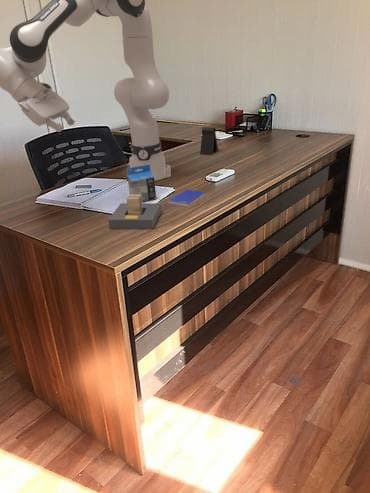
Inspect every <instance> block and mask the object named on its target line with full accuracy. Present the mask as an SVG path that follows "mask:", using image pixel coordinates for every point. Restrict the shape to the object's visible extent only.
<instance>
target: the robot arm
mask: <svg viewBox="0 0 370 493" xmlns="http://www.w3.org/2000/svg"><path fill="white" fill-rule="evenodd" d="M95 13H96V14H97V15H99V16H102V17H106V18H108V17H118V18H119V20H120V22H121V31H122V32H121V33H122V47H123V60H124V63H125V64H126V65H127V66H128V68H130V70H131V72H132V75H133V77H127V78H123V79H120V80H118V81H117V82H116V83H115V84H114V89H113V94H114V98H115V100H116V101H117V102H118V104H119V105H120V106H121V107H122V109H123V111H124V114H125V117H126V118H127V122H128V124H129V130H130V138H131V146H130V147H131V153H132V155H131V156H130V157H129V159H128V160H129V168H132V167H137V166H143V165H149V164H150V171H151V173H152V174H153V176H154V180H155V182H156V181H160V180H163V179H166V178H171V177H172V168H171V164H166V156H165V154H164V153H163V151H162V144H161V140H160V134H159V124H158V121H157V120H156V119H155V117H153V116H152V114H151V112H150V110H156V109H161V108H163V107H165V106H166V105H167V103H168V102H169V99H170V90H169V87H168V85H167V84H166V83H165V82H164V81H163V79H162V78H161V75H160V74H159V71H158V68H157V65H156V62H155V61H156V60H155V55H154V38H153V26H152V21H151V16H150V11H149V8H148V7H147V6H146V0H51V1H50V2H48V3H47V4H46V5H45V6H44V7H43V8H42V9H41V10H40V11H39V12H38V13H36V14H35V15H34V16H33V17H32V18H31V19H28V20H26V21H23V22H20V23H18V24H16V25H15V26H14V27H13V28H12V30H11V31H10V34H9V44H10V46H8V47H2V48H0V88H1V89H2V90H4V91H5V92H7V93H8V94H10V96H11V98H12V99H13V100H15V101H16V102H17V104H18V106H19V107H20V108H21V111H22V112H23V114H24V115H25V116H27V118H28V119H29V120H30V121H31V122H32V123H34V125H36V126H38V127H41V126H43V125H46V126H47V127H48V128H49V127H50V128H51V129H53V130H55V131H56V132H58V133H60V132H62V131H63V130H64V126H63V125H62V124H61V123H58V122H56V121H55V120H56V119H58V118H61V117H62V119H64V120H65V122H66V124H68V125H69V126H71V127H72V126H73V125H74V124H75V123H76V120H74V119H73V118H72V116H71V115H70V113H69V112H68V111H69V109H70V105H69V103H68V102H66V100H65V99H64V98H62V97H61V96H60V95H59V94H58V92H56V91H54V90H53V87H52V85H50V84H49V83H45V82H41V81H39V80H37V79H36V78H37V77H38V76H40V75H42V74H43V72H44V70H45V69H46V66H47V49H48V44H49V43H48V42H49V40H50V39H51V37H52V35H53V34H55V33H56V31H57V30H58V29H59V28H61V26H63V25H64V24H65V23H66V25H69V26H71V27H75V28H77V27H81V26H83V25H84V24H85V23H86V22H88V20H90V19H91V17H93V15H94V14H95ZM142 170H143V169H138V170H135V172H136V171H142Z"/></svg>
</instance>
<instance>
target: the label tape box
mask: <svg viewBox="0 0 370 493" xmlns="http://www.w3.org/2000/svg"><path fill="white" fill-rule="evenodd" d="M138 169H143V170H142V171H136V172H135V170H138ZM126 171H127V172H126V173H127V176H126V177H127V181H128V182H127V184H128V189H129V190H128V191H129V195H142V203H144V202H148V201H147V200H149V201H152V199H153V200H156V199H157V193H156V181H155V180H154V176H153V174H152V173H151V171H150V164H149V165H143V166H137V167H132V168H130V167H127V168H126ZM143 201H144V202H143Z"/></svg>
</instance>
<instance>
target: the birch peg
mask: <svg viewBox="0 0 370 493" xmlns="http://www.w3.org/2000/svg"><path fill="white" fill-rule="evenodd" d="M125 200H126V203H127V209H128V215H143V203H144V202H142V195H130V194H128V195H127V197H126V199H125Z"/></svg>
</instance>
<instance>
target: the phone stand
mask: <svg viewBox="0 0 370 493" xmlns="http://www.w3.org/2000/svg"><path fill="white" fill-rule="evenodd" d="M216 130H217V129H216V128H215V127H205V126H204V127H202V128H201V139H200V140H201V142H200V152H199V155H203V156H204V155H205V156H213V155H214V154H215V153H217V152H218V151H219V146H218V140H217V134H216V132H217V131H216Z"/></svg>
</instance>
